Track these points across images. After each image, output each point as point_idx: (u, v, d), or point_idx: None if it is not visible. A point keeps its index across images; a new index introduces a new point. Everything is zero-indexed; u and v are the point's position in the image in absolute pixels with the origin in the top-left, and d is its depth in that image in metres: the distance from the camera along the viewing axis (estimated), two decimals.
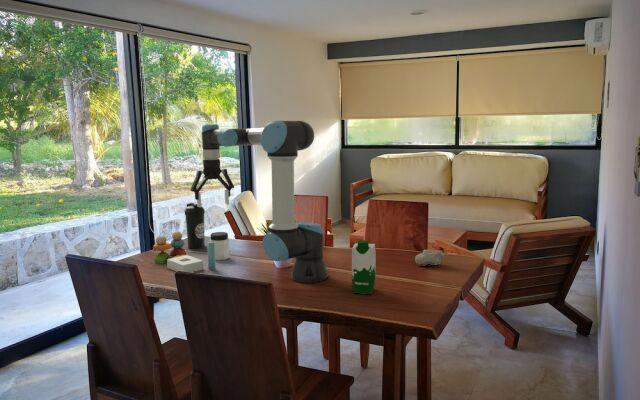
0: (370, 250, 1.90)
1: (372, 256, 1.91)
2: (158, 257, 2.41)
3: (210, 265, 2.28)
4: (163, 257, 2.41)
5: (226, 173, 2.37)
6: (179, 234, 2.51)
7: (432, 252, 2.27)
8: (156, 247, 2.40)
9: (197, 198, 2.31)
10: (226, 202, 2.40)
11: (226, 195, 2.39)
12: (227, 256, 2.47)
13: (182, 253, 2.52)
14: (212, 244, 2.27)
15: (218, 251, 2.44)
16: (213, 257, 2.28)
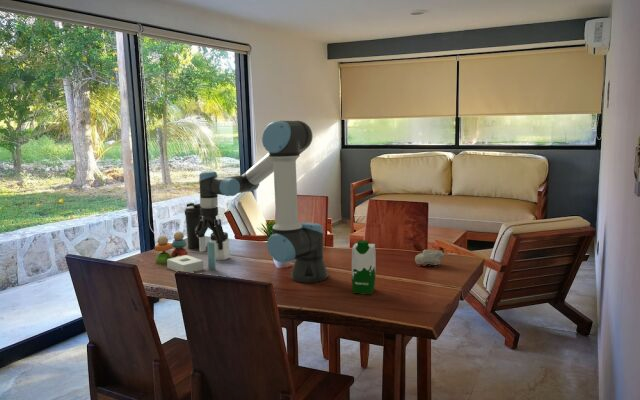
0: (370, 250, 1.90)
1: (372, 256, 1.91)
2: (159, 257, 2.41)
3: (210, 265, 2.28)
4: (164, 257, 2.41)
5: (215, 224, 2.22)
6: (181, 235, 2.50)
7: (432, 252, 2.27)
8: (157, 247, 2.39)
9: None
10: None
11: None
12: (227, 256, 2.47)
13: (184, 253, 2.51)
14: (212, 244, 2.27)
15: None
16: (213, 257, 2.28)
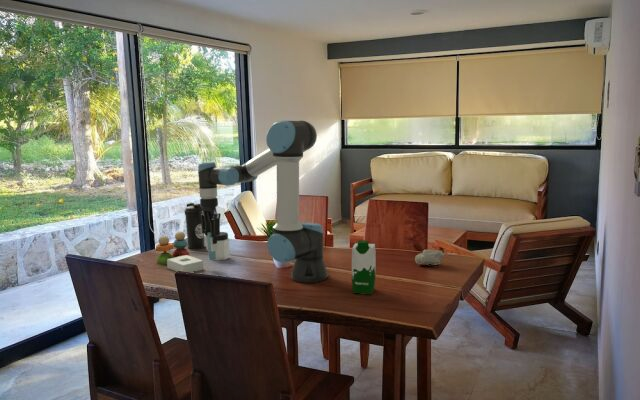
0: (370, 250, 1.90)
1: (372, 256, 1.91)
2: (161, 257, 2.40)
3: (210, 255, 2.27)
4: (166, 257, 2.40)
5: (214, 218, 2.22)
6: (182, 235, 2.50)
7: (432, 252, 2.27)
8: (159, 247, 2.39)
9: None
10: None
11: None
12: (227, 256, 2.47)
13: (185, 253, 2.51)
14: None
15: (218, 251, 2.44)
16: None
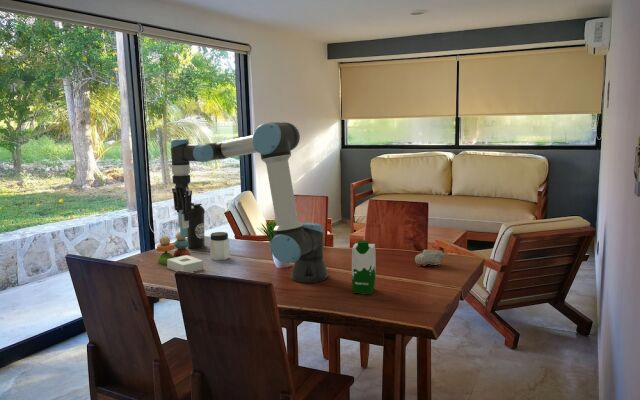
0: (370, 250, 1.90)
1: (372, 256, 1.91)
2: (161, 258, 2.40)
3: (182, 233, 2.27)
4: (166, 258, 2.40)
5: (186, 195, 2.21)
6: None
7: (432, 252, 2.27)
8: (159, 248, 2.39)
9: None
10: None
11: None
12: (227, 256, 2.47)
13: (186, 254, 2.50)
14: None
15: (218, 251, 2.44)
16: None
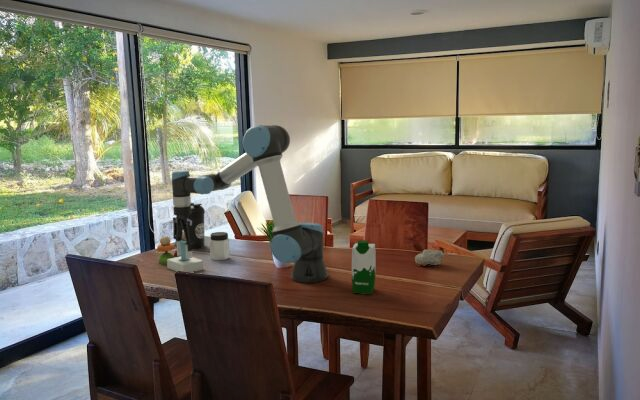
0: (370, 250, 1.90)
1: (372, 256, 1.91)
2: (162, 258, 2.40)
3: None
4: (167, 258, 2.40)
5: (187, 225, 2.23)
6: (183, 235, 2.50)
7: (432, 252, 2.27)
8: (160, 248, 2.39)
9: (177, 246, 2.32)
10: None
11: None
12: (227, 256, 2.47)
13: None
14: None
15: (218, 251, 2.44)
16: None
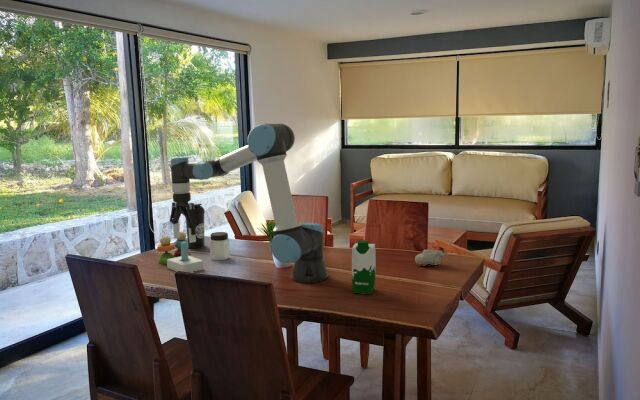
0: (370, 250, 1.90)
1: (372, 256, 1.91)
2: (162, 258, 2.40)
3: None
4: (167, 258, 2.40)
5: (187, 209, 2.21)
6: (183, 235, 2.50)
7: (432, 252, 2.27)
8: (160, 248, 2.39)
9: None
10: None
11: None
12: (227, 256, 2.47)
13: None
14: (185, 244, 2.28)
15: (218, 251, 2.44)
16: (186, 257, 2.29)
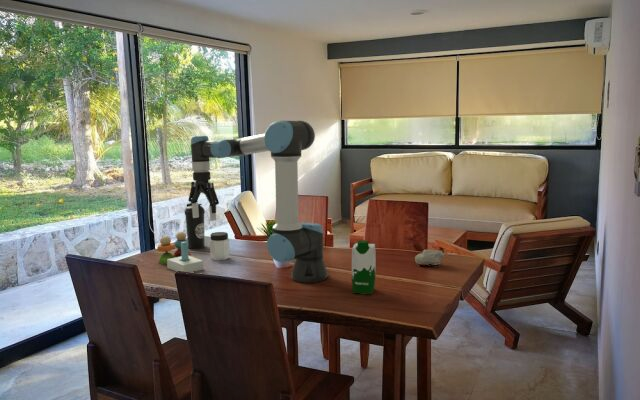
0: (370, 250, 1.90)
1: (372, 256, 1.91)
2: (162, 258, 2.40)
3: None
4: (167, 258, 2.40)
5: (208, 188, 2.22)
6: (183, 235, 2.50)
7: (432, 252, 2.27)
8: (160, 248, 2.39)
9: None
10: None
11: None
12: (227, 256, 2.47)
13: None
14: (186, 244, 2.28)
15: (218, 251, 2.44)
16: (187, 257, 2.29)
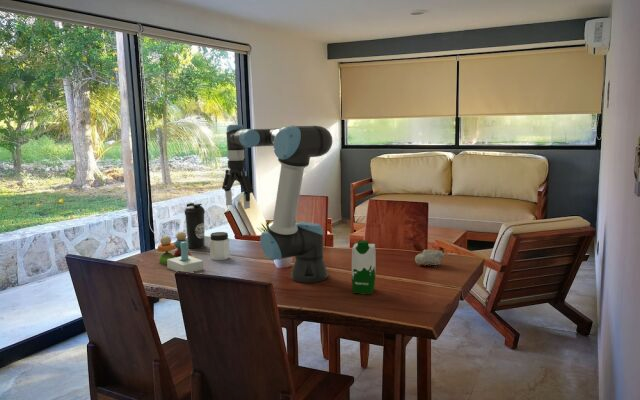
0: (370, 250, 1.90)
1: (372, 256, 1.91)
2: (163, 258, 2.40)
3: None
4: (168, 258, 2.40)
5: (243, 176, 2.25)
6: (183, 235, 2.50)
7: (432, 252, 2.27)
8: (161, 248, 2.39)
9: (226, 196, 2.37)
10: None
11: None
12: (227, 256, 2.47)
13: None
14: (185, 244, 2.28)
15: (218, 251, 2.44)
16: (186, 257, 2.29)
